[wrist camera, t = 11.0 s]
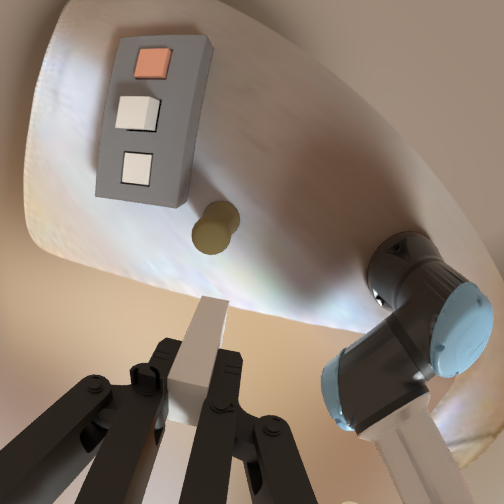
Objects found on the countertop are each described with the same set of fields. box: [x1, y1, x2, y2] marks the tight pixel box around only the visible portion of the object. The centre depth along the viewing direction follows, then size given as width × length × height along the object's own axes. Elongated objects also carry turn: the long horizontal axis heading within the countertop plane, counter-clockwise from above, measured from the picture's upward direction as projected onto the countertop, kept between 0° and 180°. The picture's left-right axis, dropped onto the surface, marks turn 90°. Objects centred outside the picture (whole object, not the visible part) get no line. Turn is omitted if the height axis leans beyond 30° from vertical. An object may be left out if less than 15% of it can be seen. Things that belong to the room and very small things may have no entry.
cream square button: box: [122, 152, 153, 185], centre depth 40 cm, size 4×4×4 cm
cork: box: [192, 201, 240, 255], centre depth 42 cm, size 6×6×11 cm
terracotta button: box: [134, 48, 172, 80], centre depth 34 cm, size 4×4×4 cm
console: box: [95, 35, 214, 208], centre depth 39 cm, size 14×26×6 cm, turn 170°
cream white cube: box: [115, 96, 160, 131], centre depth 34 cm, size 4×4×4 cm
